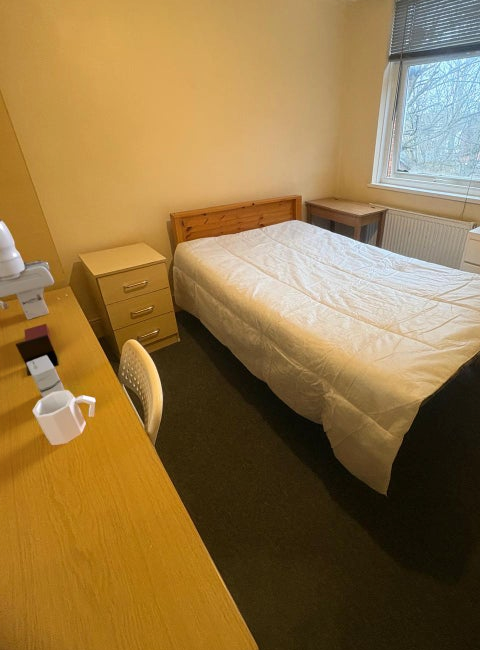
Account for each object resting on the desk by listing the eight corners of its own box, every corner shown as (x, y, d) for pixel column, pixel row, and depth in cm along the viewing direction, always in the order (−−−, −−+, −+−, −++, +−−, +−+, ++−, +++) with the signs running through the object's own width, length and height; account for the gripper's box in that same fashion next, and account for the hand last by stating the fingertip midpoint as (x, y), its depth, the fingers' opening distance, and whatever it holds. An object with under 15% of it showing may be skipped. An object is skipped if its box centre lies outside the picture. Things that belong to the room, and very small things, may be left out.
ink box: (69, 399, 90) (55, 367, 85) (49, 410, 87) (32, 377, 81) (60, 384, 95) (46, 353, 90) (40, 393, 92) (24, 362, 87)
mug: (46, 451, 76) (31, 423, 72) (47, 426, 83) (33, 398, 78) (103, 427, 82) (92, 400, 78) (100, 405, 89) (89, 379, 84)
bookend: (26, 366, 102) (15, 343, 98) (57, 356, 107) (47, 334, 102) (27, 376, 98) (15, 353, 94) (58, 365, 103) (48, 342, 99)
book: (27, 336, 116) (24, 329, 115) (49, 330, 120) (46, 323, 118) (29, 359, 105) (25, 352, 104) (53, 351, 109) (49, 344, 107)
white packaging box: (27, 320, 125) (14, 292, 119) (25, 313, 130) (12, 285, 124) (50, 313, 130) (38, 286, 124) (47, 306, 134) (36, 280, 129)
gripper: (45, 255, 110) (59, 291, 116) (-36, 271, 98) (-15, 309, 105) (46, 261, 105) (61, 297, 112) (-38, 278, 94) (-16, 317, 101)
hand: (24, 303), depth 108 cm, fingers open, 8 cm apart
